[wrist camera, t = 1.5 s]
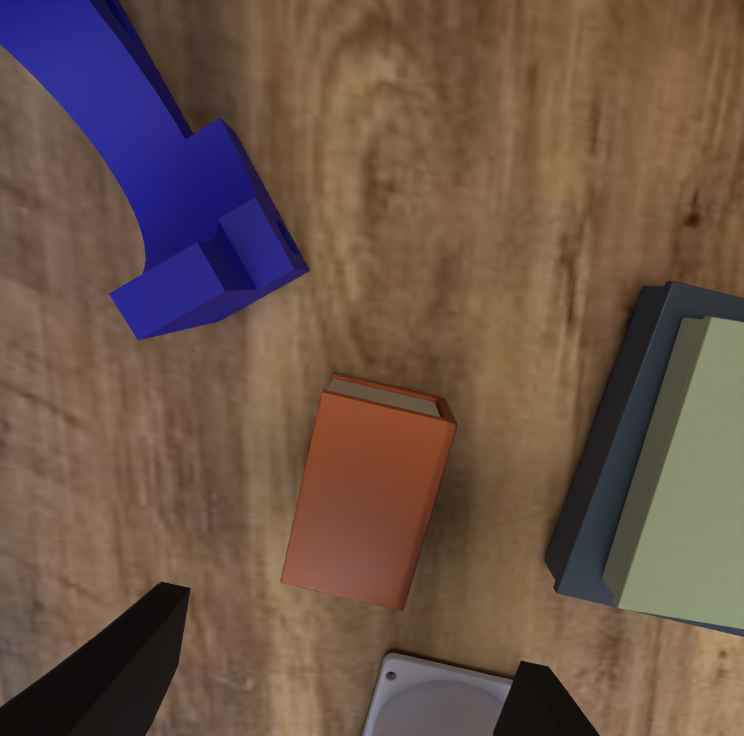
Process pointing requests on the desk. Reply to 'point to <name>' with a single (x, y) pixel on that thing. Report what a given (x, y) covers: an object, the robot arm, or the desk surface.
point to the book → (368, 491)
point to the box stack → (664, 469)
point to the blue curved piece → (158, 168)
